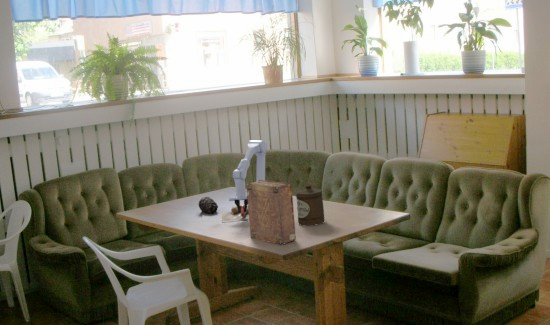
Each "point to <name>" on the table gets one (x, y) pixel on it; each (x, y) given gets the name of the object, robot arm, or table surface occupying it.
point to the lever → (243, 210)
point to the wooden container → (310, 206)
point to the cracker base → (234, 216)
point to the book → (271, 211)
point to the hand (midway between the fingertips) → (242, 212)
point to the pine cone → (208, 205)
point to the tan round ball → (234, 210)
